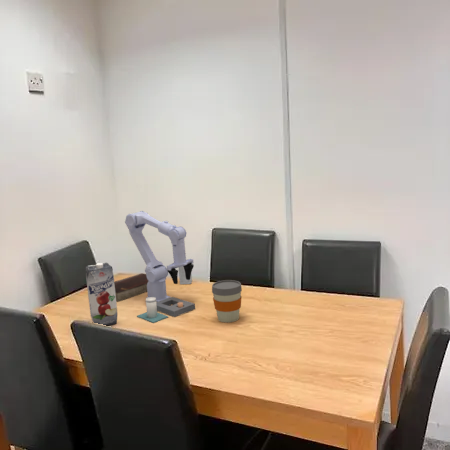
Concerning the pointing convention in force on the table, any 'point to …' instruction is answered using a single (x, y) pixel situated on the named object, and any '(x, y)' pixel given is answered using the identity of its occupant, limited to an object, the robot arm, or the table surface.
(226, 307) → the reusable coffee cup
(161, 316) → the mat
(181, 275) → the skincare box
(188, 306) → the grey board with holes
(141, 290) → the hardback book
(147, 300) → the filter cartridge
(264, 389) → the table surface
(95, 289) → the juice carton
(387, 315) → the table surface
